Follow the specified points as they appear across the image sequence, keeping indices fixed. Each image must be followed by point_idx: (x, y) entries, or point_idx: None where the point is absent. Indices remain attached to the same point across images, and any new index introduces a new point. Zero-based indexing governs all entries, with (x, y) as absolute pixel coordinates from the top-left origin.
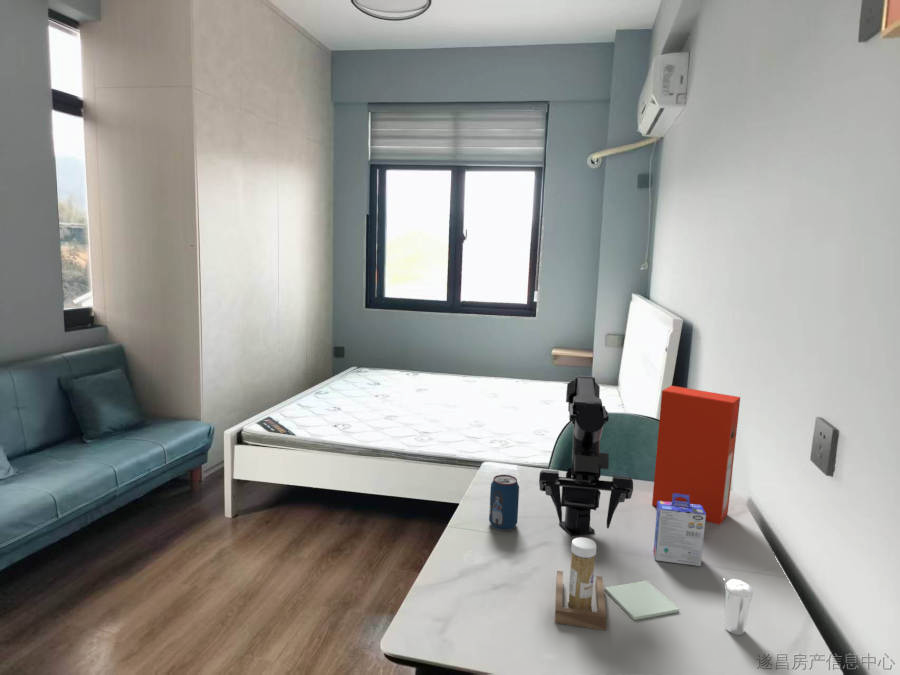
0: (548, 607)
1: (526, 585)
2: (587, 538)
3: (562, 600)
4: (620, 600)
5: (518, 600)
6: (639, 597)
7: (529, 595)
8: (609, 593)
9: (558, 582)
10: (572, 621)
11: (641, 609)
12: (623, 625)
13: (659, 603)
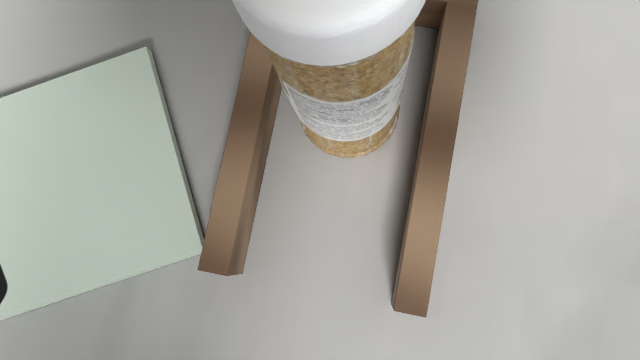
0: (483, 107)
1: (572, 273)
2: (269, 5)
3: (438, 51)
4: (163, 154)
5: (617, 148)
6: (75, 182)
7: (562, 190)
8: (194, 212)
9: (435, 202)
10: None
11: (99, 100)
12: (201, 18)
13: (11, 146)
